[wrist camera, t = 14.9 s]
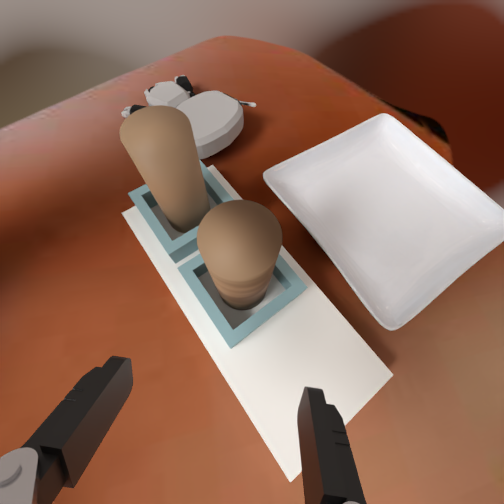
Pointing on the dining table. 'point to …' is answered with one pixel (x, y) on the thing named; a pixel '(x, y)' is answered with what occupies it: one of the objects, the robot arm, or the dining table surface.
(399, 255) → the salad plate
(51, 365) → the dining table surface
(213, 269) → the walnut column
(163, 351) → the dining table surface
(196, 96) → the robot toy
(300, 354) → the base board
